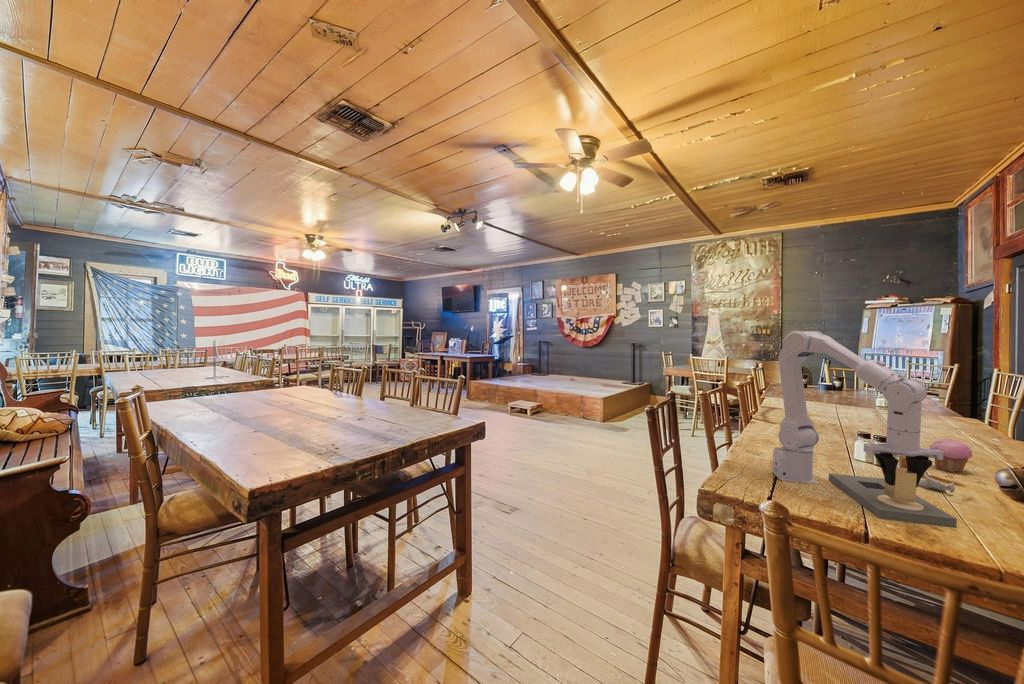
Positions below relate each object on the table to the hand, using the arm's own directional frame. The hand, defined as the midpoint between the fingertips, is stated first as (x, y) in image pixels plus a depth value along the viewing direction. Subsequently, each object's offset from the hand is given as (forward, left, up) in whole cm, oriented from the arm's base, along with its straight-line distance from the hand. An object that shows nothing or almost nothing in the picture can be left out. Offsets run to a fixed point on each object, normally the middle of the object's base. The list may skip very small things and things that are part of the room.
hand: (900, 485), depth 95 cm
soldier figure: (+17, +21, -7) cm, 28 cm away
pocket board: (0, +6, -7) cm, 9 cm away
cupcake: (+35, +41, -7) cm, 54 cm away
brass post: (0, 0, -3) cm, 3 cm away
